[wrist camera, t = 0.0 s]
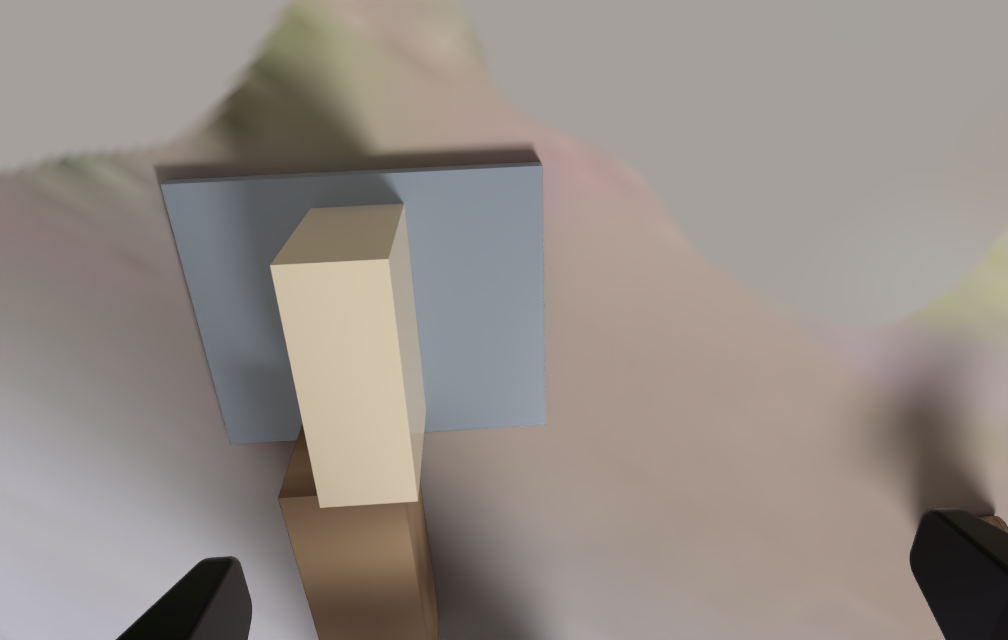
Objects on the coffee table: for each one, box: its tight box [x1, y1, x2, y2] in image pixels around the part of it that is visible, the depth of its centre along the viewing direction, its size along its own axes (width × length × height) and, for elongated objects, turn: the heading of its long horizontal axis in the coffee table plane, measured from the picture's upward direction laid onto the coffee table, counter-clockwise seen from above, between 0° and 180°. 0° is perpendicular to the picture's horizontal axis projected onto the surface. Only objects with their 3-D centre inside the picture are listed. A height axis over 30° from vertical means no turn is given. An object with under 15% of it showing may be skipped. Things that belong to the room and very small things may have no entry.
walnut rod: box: [278, 423, 439, 640], centre depth 26 cm, size 12×4×4 cm, turn 2°
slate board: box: [161, 161, 545, 508], centre depth 21 cm, size 10×12×6 cm
